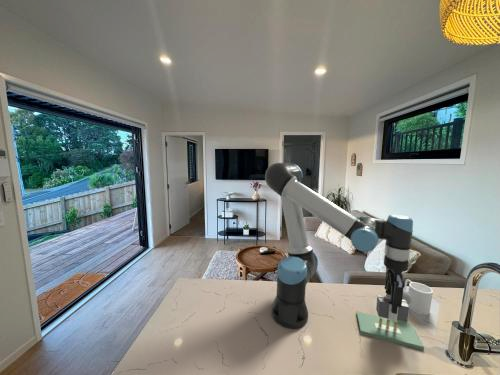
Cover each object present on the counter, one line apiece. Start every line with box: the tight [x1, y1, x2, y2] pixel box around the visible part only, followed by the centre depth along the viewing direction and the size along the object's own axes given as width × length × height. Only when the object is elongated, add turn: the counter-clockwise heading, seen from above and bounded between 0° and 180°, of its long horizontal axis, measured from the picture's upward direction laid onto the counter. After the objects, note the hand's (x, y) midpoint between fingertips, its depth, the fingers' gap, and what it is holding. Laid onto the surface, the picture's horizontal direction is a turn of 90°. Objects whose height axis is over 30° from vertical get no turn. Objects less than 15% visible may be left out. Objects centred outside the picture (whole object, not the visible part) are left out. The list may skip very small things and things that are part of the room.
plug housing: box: [375, 294, 410, 323], centre depth 81 cm, size 9×4×6 cm, turn 71°
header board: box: [356, 311, 425, 351], centre depth 83 cm, size 20×11×5 cm, turn 71°
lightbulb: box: [402, 289, 411, 304], centre depth 91 cm, size 6×6×11 cm
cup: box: [403, 278, 434, 316], centre depth 97 cm, size 8×12×10 cm
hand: (390, 314), depth 81 cm, fingers closed on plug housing, 4 cm apart
